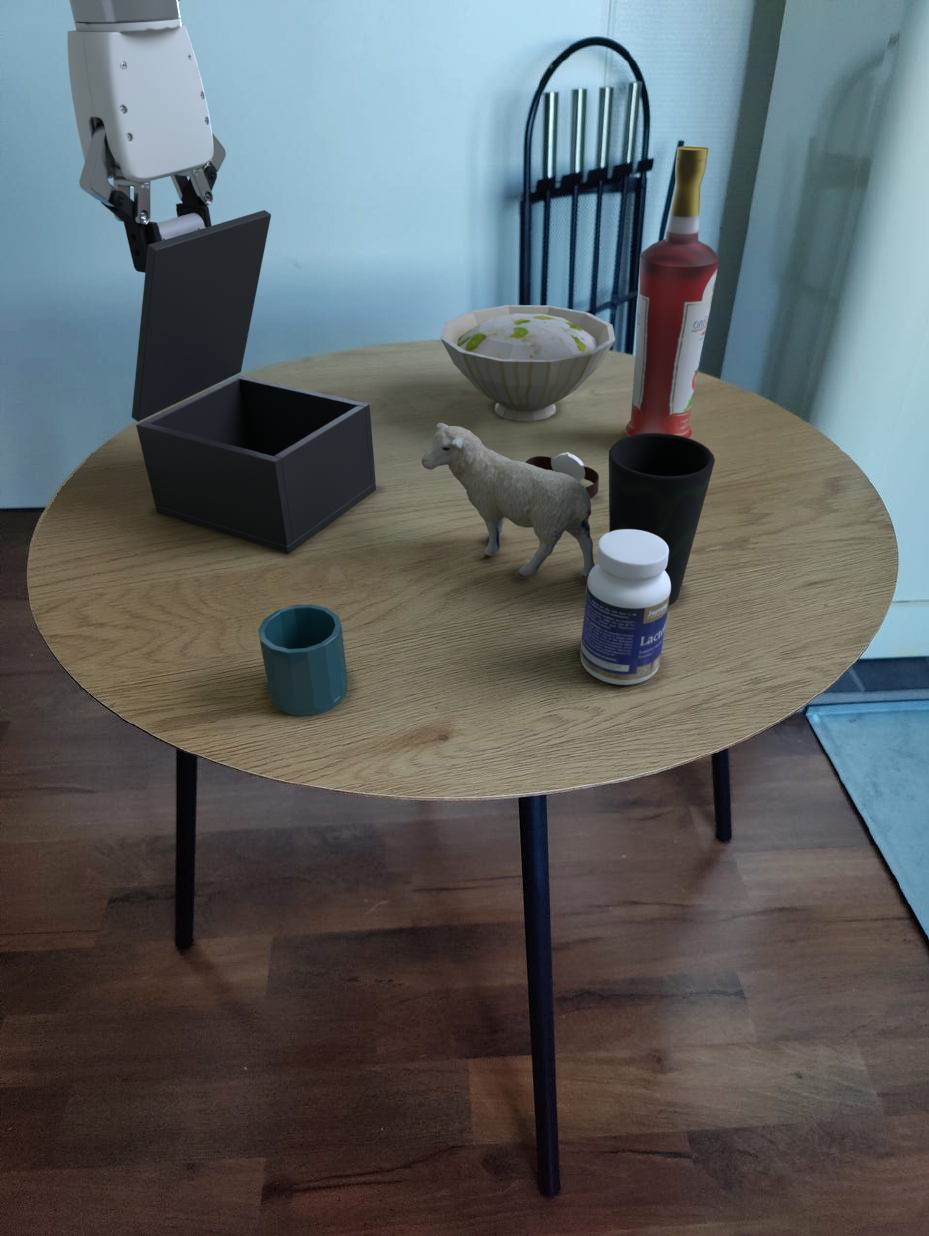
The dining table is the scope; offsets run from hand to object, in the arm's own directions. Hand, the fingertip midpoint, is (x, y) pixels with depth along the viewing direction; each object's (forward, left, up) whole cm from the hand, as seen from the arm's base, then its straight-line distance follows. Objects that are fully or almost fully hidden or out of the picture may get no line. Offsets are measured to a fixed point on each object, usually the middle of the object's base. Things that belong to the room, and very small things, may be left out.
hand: (176, 261), depth 77 cm
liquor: (+45, -5, -21) cm, 50 cm away
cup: (+31, -30, -21) cm, 48 cm away
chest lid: (+1, -2, -5) cm, 5 cm away
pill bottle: (+25, -38, -21) cm, 50 cm away
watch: (+31, -12, -21) cm, 40 cm away
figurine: (+22, -22, -21) cm, 38 cm away
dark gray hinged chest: (+4, -5, -21) cm, 22 cm away
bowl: (+35, +8, -21) cm, 42 cm away
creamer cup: (+3, -34, -21) cm, 40 cm away
